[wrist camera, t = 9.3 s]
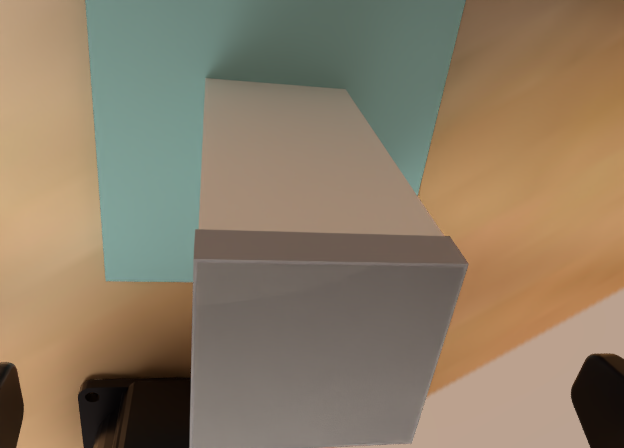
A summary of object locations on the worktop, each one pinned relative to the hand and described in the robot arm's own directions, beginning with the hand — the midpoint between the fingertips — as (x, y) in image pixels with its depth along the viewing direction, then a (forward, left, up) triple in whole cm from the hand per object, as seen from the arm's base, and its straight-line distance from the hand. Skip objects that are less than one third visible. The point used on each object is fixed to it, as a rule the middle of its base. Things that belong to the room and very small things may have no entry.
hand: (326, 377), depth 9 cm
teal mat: (0, 0, -10) cm, 10 cm away
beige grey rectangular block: (0, 0, -9) cm, 9 cm away
